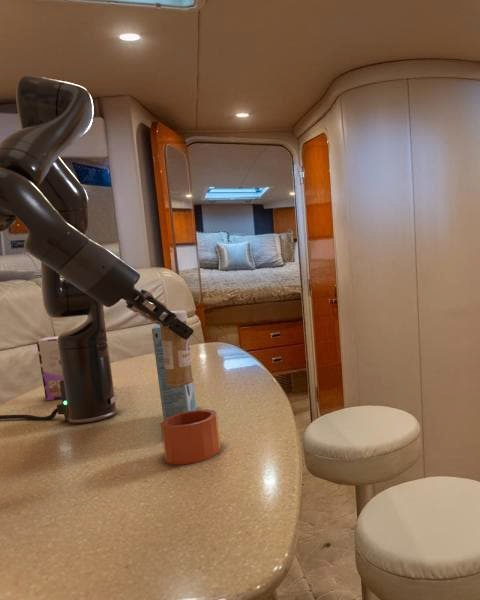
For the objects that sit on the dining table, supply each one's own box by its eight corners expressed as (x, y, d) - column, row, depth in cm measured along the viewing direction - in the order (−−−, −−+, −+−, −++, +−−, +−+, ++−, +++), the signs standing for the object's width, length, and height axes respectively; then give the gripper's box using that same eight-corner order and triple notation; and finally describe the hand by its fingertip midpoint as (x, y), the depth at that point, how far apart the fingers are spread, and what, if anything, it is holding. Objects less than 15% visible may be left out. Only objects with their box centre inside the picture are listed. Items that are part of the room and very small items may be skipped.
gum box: (191, 435, 105) (179, 325, 102) (163, 440, 103) (149, 328, 100) (197, 408, 122) (186, 314, 120) (173, 411, 120) (161, 316, 118)
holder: (154, 464, 91) (149, 427, 90) (185, 443, 100) (181, 409, 99) (202, 464, 90) (197, 426, 89) (229, 443, 99) (226, 409, 98)
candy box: (111, 388, 144) (104, 330, 142) (104, 393, 139) (96, 334, 137) (53, 394, 140) (45, 336, 138) (44, 401, 134) (35, 339, 132)
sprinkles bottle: (195, 384, 93) (187, 311, 91) (166, 389, 90) (158, 314, 89) (192, 379, 96) (184, 308, 95) (164, 383, 94) (156, 311, 92)
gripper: (123, 256, 80) (211, 321, 89) (110, 256, 91) (190, 314, 100) (86, 293, 77) (182, 356, 87) (77, 288, 88) (163, 345, 97)
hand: (185, 333), depth 93 cm, fingers closed on sprinkles bottle, 4 cm apart
